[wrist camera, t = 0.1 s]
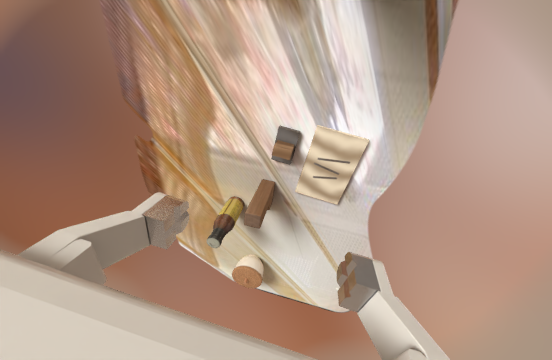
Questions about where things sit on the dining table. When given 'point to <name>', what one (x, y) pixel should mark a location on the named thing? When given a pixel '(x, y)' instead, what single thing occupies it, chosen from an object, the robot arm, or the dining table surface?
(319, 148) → the birch board
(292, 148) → the block
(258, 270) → the lidded bowl
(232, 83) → the dining table surface
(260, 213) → the wooden block
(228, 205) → the sauce bottle
